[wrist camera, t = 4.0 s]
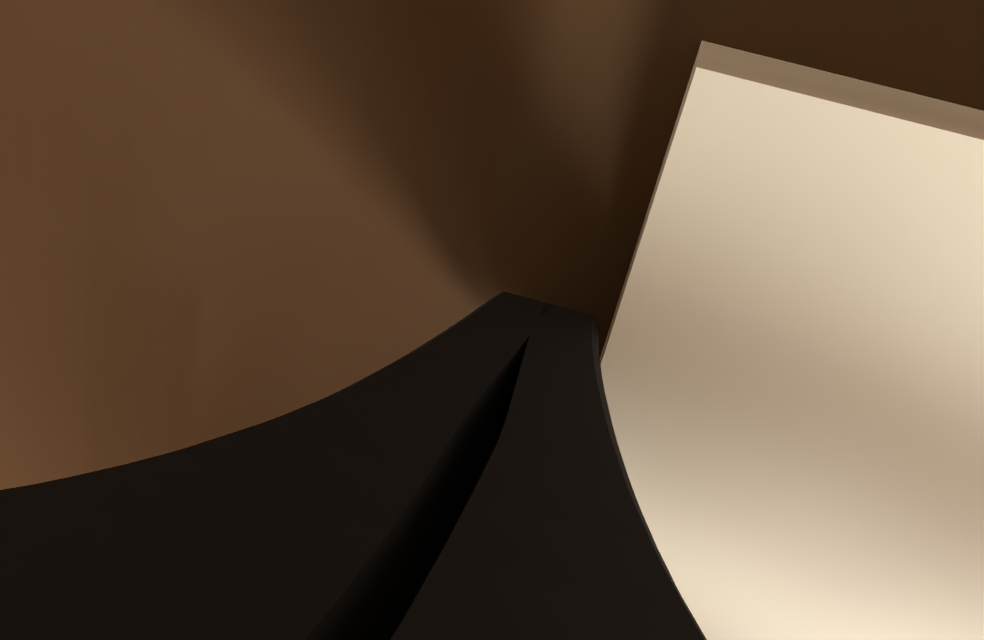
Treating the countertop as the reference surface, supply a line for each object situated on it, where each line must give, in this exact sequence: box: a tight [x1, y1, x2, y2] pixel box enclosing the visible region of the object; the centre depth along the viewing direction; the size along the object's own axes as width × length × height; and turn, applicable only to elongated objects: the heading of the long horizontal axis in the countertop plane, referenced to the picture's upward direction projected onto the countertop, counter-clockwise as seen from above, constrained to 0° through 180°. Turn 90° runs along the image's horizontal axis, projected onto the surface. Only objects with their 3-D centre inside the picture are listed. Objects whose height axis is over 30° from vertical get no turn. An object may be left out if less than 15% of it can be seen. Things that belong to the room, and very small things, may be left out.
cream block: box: [600, 41, 984, 640], centre depth 10 cm, size 8×9×2 cm
